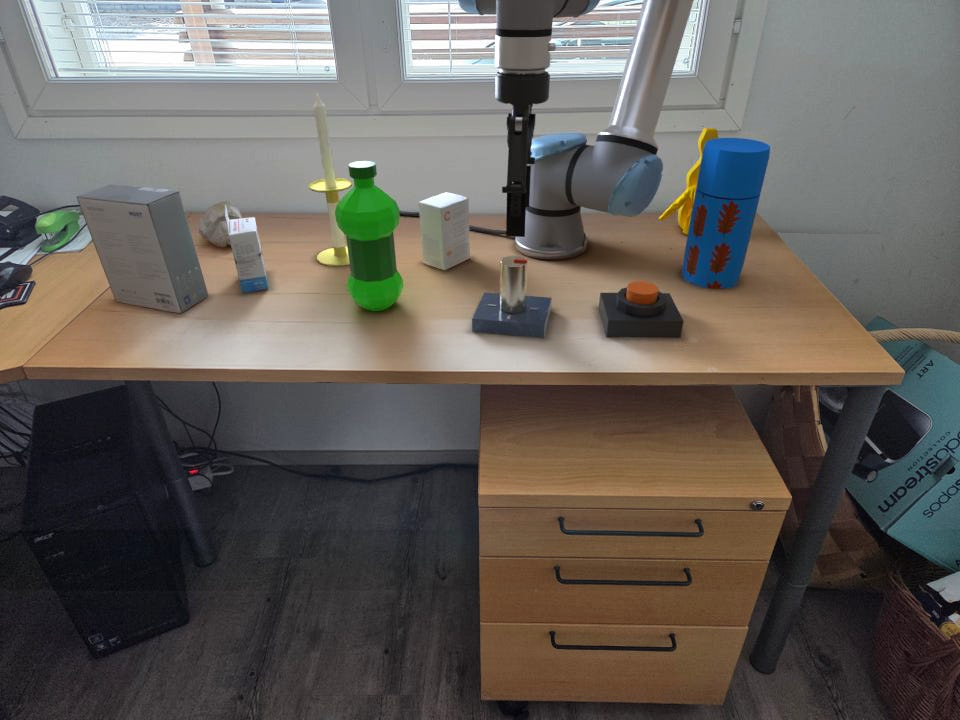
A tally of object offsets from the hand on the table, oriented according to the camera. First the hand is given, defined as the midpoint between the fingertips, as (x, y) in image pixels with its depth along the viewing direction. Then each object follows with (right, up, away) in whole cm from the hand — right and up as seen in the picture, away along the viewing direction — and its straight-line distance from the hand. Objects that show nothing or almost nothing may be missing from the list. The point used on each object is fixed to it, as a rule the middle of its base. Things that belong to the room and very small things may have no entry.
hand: (518, 220), depth 95 cm
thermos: (+39, -6, +24) cm, 46 cm away
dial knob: (0, -13, +8) cm, 15 cm away
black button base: (+21, -16, +9) cm, 27 cm away
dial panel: (0, -15, +10) cm, 18 cm away
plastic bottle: (-25, -12, +15) cm, 31 cm away
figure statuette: (+43, +8, +45) cm, 63 cm away
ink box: (-50, -7, +24) cm, 56 cm away
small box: (-13, -1, +32) cm, 34 cm away
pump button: (+21, -12, +6) cm, 25 cm away
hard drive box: (-65, -11, +18) cm, 68 cm away
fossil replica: (-63, +4, +42) cm, 76 cm away
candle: (-35, 0, +34) cm, 49 cm away
